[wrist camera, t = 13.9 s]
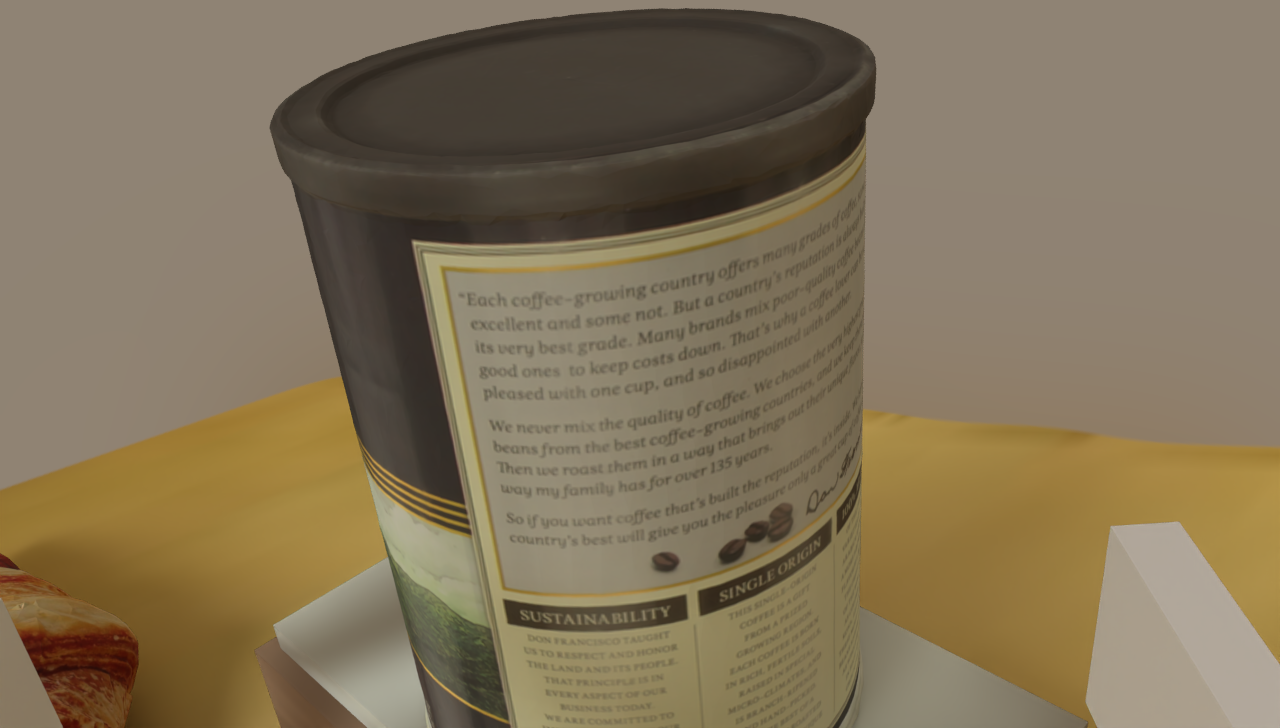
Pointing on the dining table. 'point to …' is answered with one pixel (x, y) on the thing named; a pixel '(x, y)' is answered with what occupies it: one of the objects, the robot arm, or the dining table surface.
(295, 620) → the stand
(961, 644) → the dining table surface
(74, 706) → the croissant
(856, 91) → the coffee can
